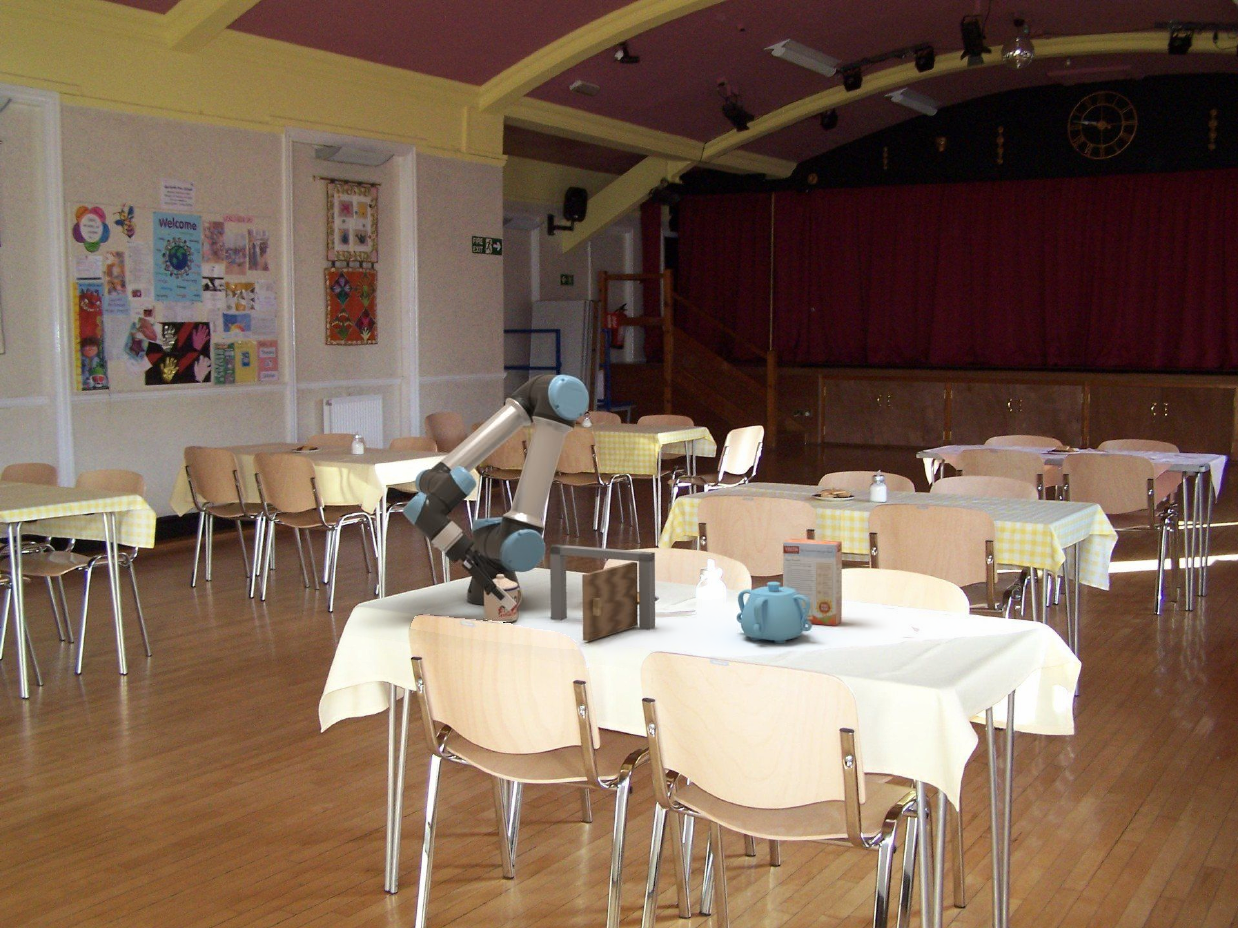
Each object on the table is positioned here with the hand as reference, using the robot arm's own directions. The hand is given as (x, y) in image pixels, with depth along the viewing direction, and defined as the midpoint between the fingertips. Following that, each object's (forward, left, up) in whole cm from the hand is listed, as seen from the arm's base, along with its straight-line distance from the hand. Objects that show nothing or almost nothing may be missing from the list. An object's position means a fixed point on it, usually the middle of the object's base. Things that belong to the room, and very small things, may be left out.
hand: (515, 602), depth 330 cm
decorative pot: (-11, +66, -5) cm, 67 cm away
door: (+4, +30, -4) cm, 31 cm away
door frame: (-7, +21, -5) cm, 23 cm away
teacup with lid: (+1, -3, -4) cm, 5 cm away
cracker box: (-31, +69, -5) cm, 76 cm away
